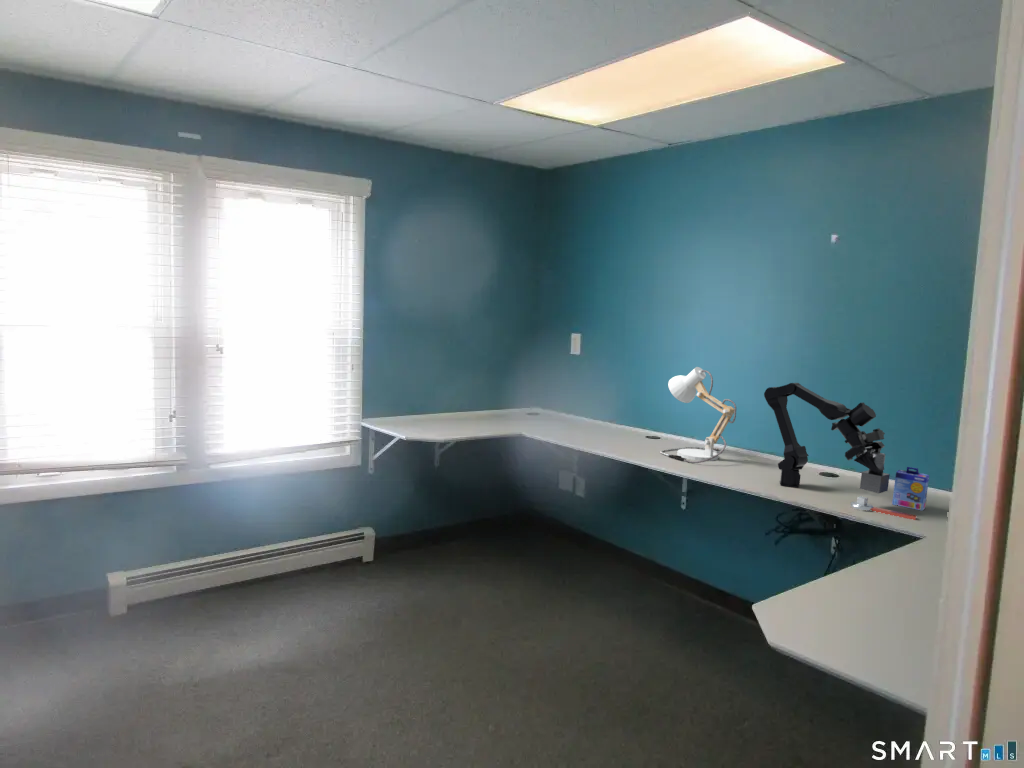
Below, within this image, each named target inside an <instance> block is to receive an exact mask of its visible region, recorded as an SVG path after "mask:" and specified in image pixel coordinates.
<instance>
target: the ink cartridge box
mask: <svg viewBox="0 0 1024 768" xmlns="http://www.w3.org/2000/svg"><path fill="white" fill-rule="evenodd" d="M929 481H930V475H929V474H926V473H920V472H919V468H918V467H912V466H907V467H906V470H903V469H898V470H896V471H895V477H894V486H893V494H892V495H893V496H892V500H891V501H892V502H891V505H892V504H893V506H897V505H898V507H903V508H907V509H913V510H916V511H924V510H925V508H926V504H927V497H928V489H929Z"/></svg>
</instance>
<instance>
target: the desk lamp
mask: <svg viewBox="0 0 1024 768" xmlns="http://www.w3.org/2000/svg"><path fill="white" fill-rule="evenodd" d="M706 373H707V374H708V375H709V377H710V387H709V391H707V388H706V387H705V385H704V382H703V380H704V379H705V378H706V377H707V375H706ZM667 384H668V386H667V387H668V389H669V391H670V393H671V395H672V396H673V397H674V398H675V399H676V400H678V401H679V402H681V403H685V404H688V403H692V401H693V400H694V399H695V397H696V396H697V397H698V398H699V399H701V400H702V401H703V402H705V403H706V404H708V405H709V406H710V407H713V408H714V409H716V410H717V411H718V412H720V413H721V414H722V415H721V417H720V418H719V420H718V422H717V424H716V425H715V427H714V428H713V431H712V433H711V434H710V435H709V436H706V437H705V440H704V447H700V446H685V447H675V448H667V449H662V450H660V451H659V452H660V454H662V455H664V456H666V457H668V458H671V459H673V460H677V461H680V462H687V463H691V464H701V463H705V462H709V461H710V462H711V461H712V462H713V461H717V460H718V459H719V455H721V454H722V453H723V452H724V451H725V449H726V448H727V442H726V439H725V438H724V436H723V435H722V434H723V432H724V431H725V429H726V427H727V425H728V424H729V423H730V424H734V423H735V421H736V417H737V405H736V403H735V402H734V401H733V400H731V399H729V398H724V399H723V400H722V401H720V400H719V399H717V398H716V397H714V396H713V395H711V394H712V390H713V387H714V378H713V376H712V373H711V372H710V371H708V370H706V369H703V368H702V367H699V366H695V368H693V369H692V370H691V371H690V372H689V373H688V374H687V375H684V374H683V375H680V374H679V375H675V376H673V377H671V378H670V379H669V380H668V382H667ZM728 401H729V402H731V404H732V405H733V406H731V405H727V404H726V403H725V402H728ZM732 417H733V419H732ZM731 419H732V420H731ZM719 439H721V440H722V441H723V444H724V445H723V448H722V449H721V450H719V448H714V446H715V445H716V444H717V443H718V441H719ZM675 450H676V455H675V454H668V453H665V452H670V451H675Z"/></svg>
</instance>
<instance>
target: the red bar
mask: <svg viewBox="0 0 1024 768" xmlns="http://www.w3.org/2000/svg"><path fill="white" fill-rule="evenodd" d="M856 497H857V499H856V501H851V502H850V506H851V507H853V508H856V509H861V510H867V511H866V512H873V511H876V512H875V513H878V512H881V513H880V514H883V513H885V514H884V515H888V514H890V515H889V516H893V515H894V516H893V517H897V516H899V518H902V517H903V519H909V520H912V519H913V521H916V520H917V517H918V516H917V515H916V514H911V513H907V512H901V511H896V510H891V509H886V508H881V507H878V506H877V507H876V506H874V505H873V504H871V503H869V497H865V496H862V495H861V496H860V495H859V496H856ZM851 507H850V508H851ZM853 508H852V509H853ZM856 509H855V510H856ZM870 510H872V511H870Z"/></svg>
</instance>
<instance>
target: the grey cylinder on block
mask: <svg viewBox="0 0 1024 768" xmlns="http://www.w3.org/2000/svg"><path fill="white" fill-rule="evenodd" d="M871 458H872V460H873V462H874V464H875V465H876V467H877V469H878V472H874V471H872V470H870V469H869V468H868V470H863V471H861V476H860V485H859V489H860V490H864V491H868V492H872V493H876V494H882V493H884V492H885V493H886V492H888V490H889V483H890V476H891V475H890V473H885V472H884V470H885V461H886V454H885V453H883V452H880V453H879V452H871ZM883 469H884V470H883Z"/></svg>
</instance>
